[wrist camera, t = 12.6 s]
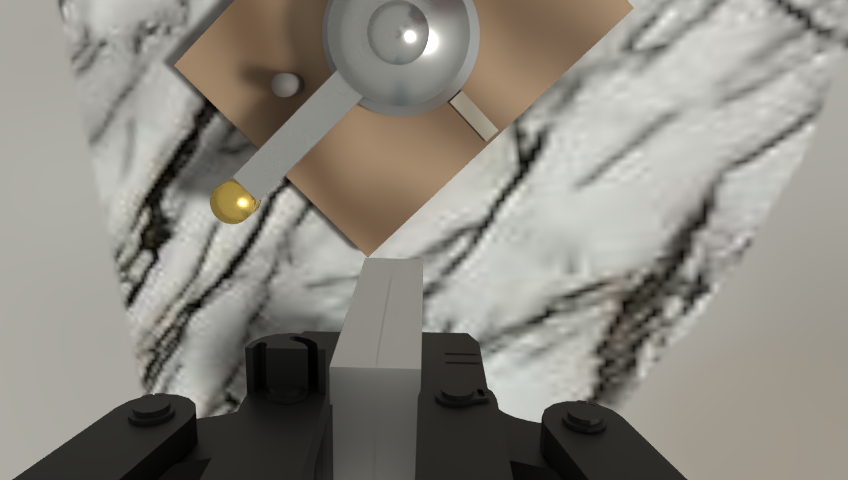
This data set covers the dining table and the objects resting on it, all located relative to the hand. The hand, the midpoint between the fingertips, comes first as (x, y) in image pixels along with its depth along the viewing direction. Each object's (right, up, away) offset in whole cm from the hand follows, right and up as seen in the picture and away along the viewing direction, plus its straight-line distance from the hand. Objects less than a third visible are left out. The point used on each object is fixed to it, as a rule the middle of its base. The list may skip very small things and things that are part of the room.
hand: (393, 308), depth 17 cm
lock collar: (-4, +9, +19) cm, 21 cm away
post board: (0, +13, +20) cm, 24 cm away
